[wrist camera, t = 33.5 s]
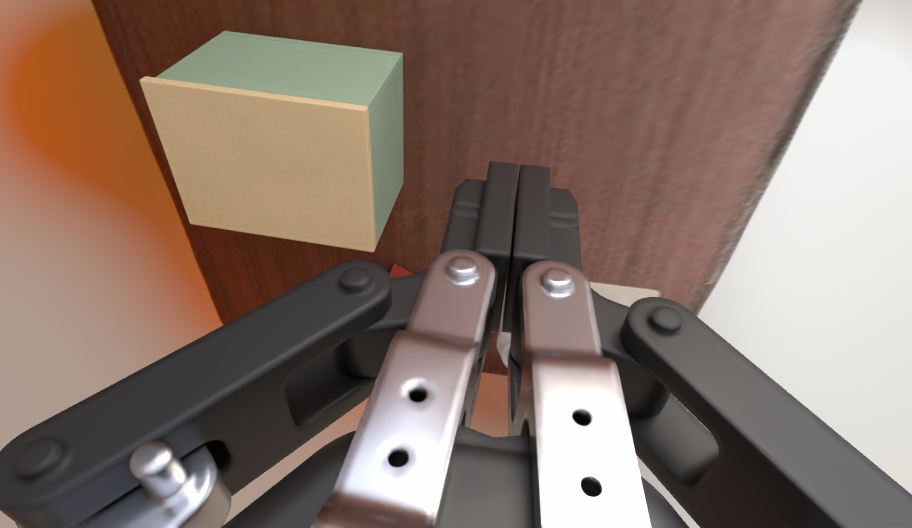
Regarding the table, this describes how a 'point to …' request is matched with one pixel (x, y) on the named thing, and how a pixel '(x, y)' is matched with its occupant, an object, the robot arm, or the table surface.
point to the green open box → (315, 90)
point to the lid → (268, 161)
